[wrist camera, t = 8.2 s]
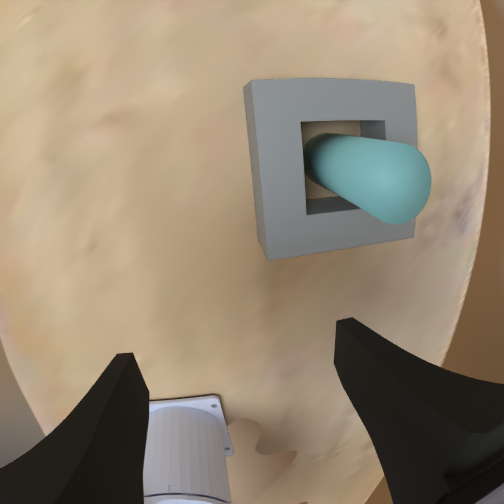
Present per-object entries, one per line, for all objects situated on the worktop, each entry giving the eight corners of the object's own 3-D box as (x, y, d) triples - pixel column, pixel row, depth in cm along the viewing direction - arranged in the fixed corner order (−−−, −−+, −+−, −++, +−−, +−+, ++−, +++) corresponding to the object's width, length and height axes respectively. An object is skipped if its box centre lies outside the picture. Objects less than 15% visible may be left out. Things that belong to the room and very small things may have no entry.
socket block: (389, 222, 21) (413, 237, 18) (258, 241, 20) (267, 260, 17) (387, 87, 17) (414, 84, 14) (243, 87, 16) (250, 80, 14)
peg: (350, 183, 19) (428, 221, 12) (302, 186, 19) (363, 228, 12) (350, 132, 18) (432, 144, 11) (300, 133, 18) (364, 142, 10)
